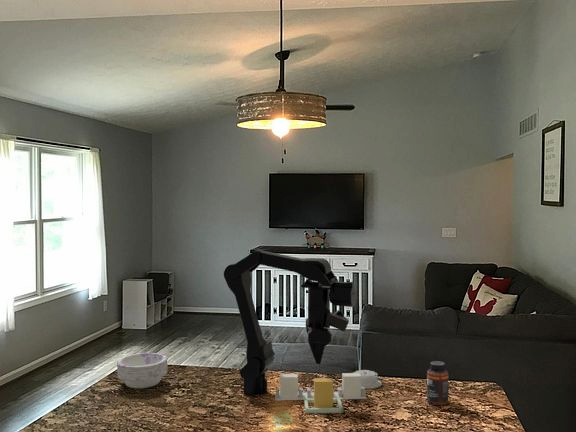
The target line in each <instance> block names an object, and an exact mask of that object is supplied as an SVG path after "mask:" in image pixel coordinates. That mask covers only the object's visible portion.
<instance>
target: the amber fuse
mask: <svg viewBox="0 0 576 432" xmlns="http://www.w3.org/2000/svg"><path fill="white" fill-rule="evenodd" d="M333 389H334V380H333V377H329V378H328V377H321V378H320V377H316V378H315V377H314V378H313V392H314V403H313V408H334V403H333Z"/></svg>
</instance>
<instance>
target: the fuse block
mask: <svg viewBox="0 0 576 432" xmlns="http://www.w3.org/2000/svg"><path fill="white" fill-rule="evenodd" d="M333 398H340V400H367V399H368V398H367V395H366V389H365V388H364V387H361V397H343V395H342V386H337V391H335V390H334V388H333ZM304 399H314V391H312V389H311V387H306V392H304V391H303V387H298V398H280V387H276V388H275V392H274V401H304Z"/></svg>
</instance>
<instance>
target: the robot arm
mask: <svg viewBox="0 0 576 432" xmlns="http://www.w3.org/2000/svg"><path fill="white" fill-rule="evenodd" d="M259 266H265V267H271V268H274V269H280V270H283V271H288V272H293V273H294V274H295V273H296V274H297V275H300V276H301V277H303V278H305V281H304V283H302V284H301V285H300V288H303V289H306V288H307V297H308V298H307V318H306V319H305V331H306V333H307V342H308V345H309V347H310V350H311V353H312V355H313V359H314V361H315V364H316V365H321V363H322V360H323V354H324V350H325V348H326V346H327V345H329V344H331V342H332V332H331V331H330V330H329V329H330V328H331V327H333V328H335V329H338V330H340V332H344V333H345V332H346V331H347V328H348V325H349V323H350V320H349V319H348V317H346V316H344V312H343V311H342V310H339V309H337V310H336V311H335V312H331V309H330V307H329V302H330V304H332V305H333V306H337V307H346V308H347V307H349V308H354V307H355V306H356V303H357V292H356V287H355V282H354V281H339V279H338V278H337V276H336V275H335V273H334V272H333V271H332V266H331V264H330V261H329V260H327V259H325V258H322V257H321V258H319V257H318V258H313V257H311V258H309V257H306V258H300V257H296V256H295V257H294V256H292V255H291V256H290V255H286V254H281V253H276V252H271V251H266V250H265V249H257V250H253V251H252V252H251V253H250V254H248V255H247V256H245V257H244V258H242V259H241V260H239V261H238V262H235V263H231V264H229V265H227V266H226V267H225V268H224V271H223V277H224V280H225V283H226V286H227V287H228V289H229V290H230V291H231V292H232V293H233V295H234V297H235V300H236V306H237V308H238V313H239V315H240V321H241V324H242V327H243V328H242V329H243V330H244V334H245V335H244V336H245V338H246V343H247V345H246V350H245V351H246V353H245V356H246V357H245V358H246V364H245V365H243V367H242V368H241V369H239V374H240V377H241V378H242V379H243V395H248V396H255V397H256V396H260V395H265V394H268V378H267V377H266V373H267V372H268V369H269V367H271V366H272V364H273V362H274V360H275V357H274V356H275V355H276V353H275V352H274V349H273V343H272V341H268V342H267V340H265V338H264V336H263V333H262V330H261V325H260V322H259V319H258V315H257V311H256V307H255V303H254V300H253V297H252V293H251V288H252V272H254V271H256V269H258V267H259Z"/></svg>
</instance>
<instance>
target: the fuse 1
mask: <svg viewBox="0 0 576 432" xmlns="http://www.w3.org/2000/svg"><path fill="white" fill-rule="evenodd" d="M279 376H280V377H279V382H280V384H279V393H280V398H298V393H299V376H298V373H280V374H279Z"/></svg>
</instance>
